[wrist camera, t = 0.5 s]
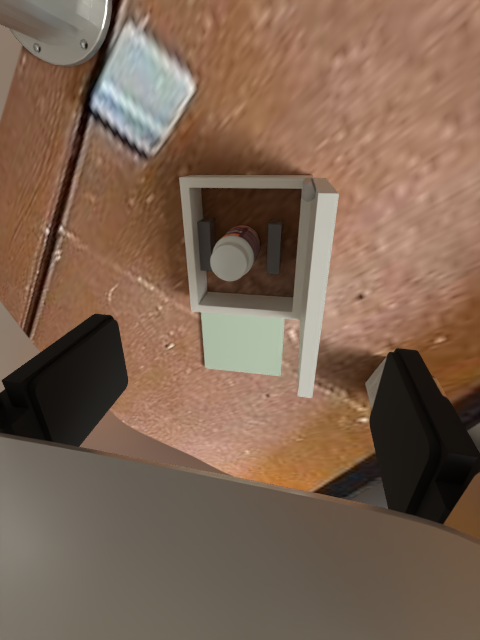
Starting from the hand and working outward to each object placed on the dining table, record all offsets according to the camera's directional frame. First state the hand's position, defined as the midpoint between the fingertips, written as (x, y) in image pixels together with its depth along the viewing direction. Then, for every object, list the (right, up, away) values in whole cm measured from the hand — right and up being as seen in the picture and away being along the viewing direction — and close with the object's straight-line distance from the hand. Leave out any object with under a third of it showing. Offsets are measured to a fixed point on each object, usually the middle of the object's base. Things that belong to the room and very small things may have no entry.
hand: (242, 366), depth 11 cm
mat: (0, -2, +36) cm, 36 cm away
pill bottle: (0, +12, +29) cm, 32 cm away
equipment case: (+1, +11, +29) cm, 31 cm away
